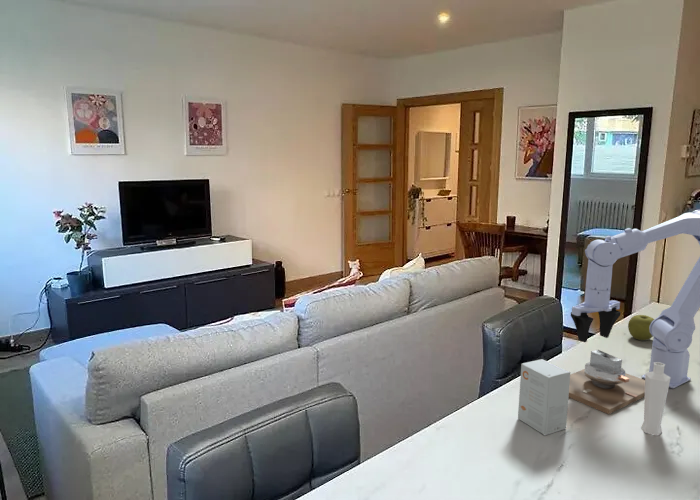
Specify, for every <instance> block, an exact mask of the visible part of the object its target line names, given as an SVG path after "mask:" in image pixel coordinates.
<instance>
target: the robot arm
mask: <svg viewBox="0 0 700 500" xmlns="http://www.w3.org/2000/svg"><path fill="white" fill-rule="evenodd" d="M682 234H684V235H691V236H692V237H694V239H696V241H697V243H698V244H699V246H700V209H696V210H693V211H692V212H690V211H689V212H684V213H682V214H681V215H678V216H677V217H673V218H671V219H669V220H666V221H664V222H662V223H659V224H656V225H654V226H652V227H649V228H647V229H644V230H640V229H638V228H633V229H632V228H630V227H627V228H624V231H623V232H621V233H617V234H615V235H612V236H610V235H607V236H605V237H604V238H605V239H604V240H603V239H595V240H592V241H590V242H589V244H587V247H586V249H585V250H584V253H585V257H586V258H587V259H588V260H587V269H586V270H587V271H586V278H585V289H584V290H585V292H584V301H583V302H582V303H580V304H577V305H574V306H572V307H571V312H570V318H571V319H572V321H573V323H574V326H575V329H576V334H577V340H578V341H581V342H582V343H587V342H588V338H589V331H590V327H591V325H592V323H593V322H594V318H593V317H591V316H589V314H591V313H598V319H599V336H601V337H603V338H606V339H608V338H609V337H610V335H611V332H612V330H613V327H614V325H615V323H616V322H617V321H618V319H619V318H620V316H621V311H619V310H620V308H621V307H620V306H621V301H618V300H615V299H614V300H613V299H611V287H612V277H613V265H614V264H615V263H616V261H617V260H619V259H622V258H624V257H628V256H630V255H633V254H636V253H640V252H642V251H644V250H645V249H647V247H648V245H649V244H650V243H654V242H658V241H661V240H664V239H668V238H670V237H674V236H677V235H682ZM610 299H611V300H610ZM699 309H700V256H699V257H698V259H697V261H696V263H695V264H694V266H693V267H692V269H691V271H690V273H689V274H688V277H687V278H686V280H685V281H684V283H683V284H682V286H681V288H680V290H679V291H678V293H677V295H676V296H675V299H674V301H673V302H672V303H671V306H669V307H668V308H665V309H663V310H662V311H661V313H660V314H659V315H658V316H657V317H656V318H653V319H654V320H653V321H652V322H651V324H650V327H649V330H650V333H651V335H652V336H653V337H652V338H653V339H652V345H651V350H650V351H651V352H650V361H649V369H648V372H652V371H653V368H654V362H660V363H663V364H665V366H664V374H666V375H667V376H669V377H671V379H670V383H669V388H671V389H676V388H677V387H680V386H681V385H684V384H685V383H687V382H689V381H691V380H692V379H691V377H689V376H688V372H689V364H690V351H689V350H688V348H690V347H691V344H692V341H693V334H694V332H695V330H696V324H695V319H694V318H695V316H696V314H697V313H698V311H699ZM641 379H643V380H645V373H644V374H643V375H641Z"/></svg>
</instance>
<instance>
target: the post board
mask: <svg viewBox="0 0 700 500" xmlns="http://www.w3.org/2000/svg"><path fill="white" fill-rule="evenodd" d="M584 372H585V368H584V369H580V370H578V371H576V372H573V373H570V384H569V397H568V398H571V399H572V400H574V401H577V402H579V403H581V404H584V405H586V406H588V407H591V408H593V409H596V410H598V411H600V412H602V413H605V414H607V415H611V414H613V413H615V412H617V411H618V410H621V409H623V408H624V407H626V406H629V405H631V404H633V403H636V402H637V401H638V400H639V401H640V400H641V399H643V398H645V379H644V378H642V377H637V376H634V375H632V374H629V373H627V372H625V377H627V378H629V382H626V383H625V382H623V383H621V384H603V383H599V382H596V381H593V380H591V379H589V378H587V377H586V376H585V374H584Z"/></svg>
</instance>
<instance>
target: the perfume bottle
mask: <svg viewBox="0 0 700 500" xmlns="http://www.w3.org/2000/svg"><path fill="white" fill-rule="evenodd" d="M664 366H665V364H663V363H660V362H654V368H653V371H652V372H649V371H647V372H645V373H644V374H645V379H644V380H645V397H644V400H643V401H644V403H643V404H644V405H643V406H644V407H643V409H644V410H643V411H644V412H643V422H642V424H641V425H640V428H641V430H642V431H643V433H645V434H649V435H653V436H660V435H661V434H662V432H663V428H662V421H663V416H664V411H665V406H666V401H667V397H668V392H669V388H670V387H669V383H670V379H671V377H669V376H667V375H666V374H664Z"/></svg>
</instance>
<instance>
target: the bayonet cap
mask: <svg viewBox="0 0 700 500" xmlns="http://www.w3.org/2000/svg"><path fill="white" fill-rule="evenodd" d="M622 363H623V360H622V359H621V358H618V357H616V356H614V355H611V354H609V353H607V352H605V351H603V350H600V349H595V350H591V351H590V361H589V362H587V363H585V364H584V369H585V372H584V374H585V376H586V377H587V378H589V379H591V380H593V381H596V382H599V383H603V384H621V383H623V382H625V383H626V382H629V378H627V377H625V373H626V370H625V369H624V368H623V367H622V365H623V364H622Z"/></svg>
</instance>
